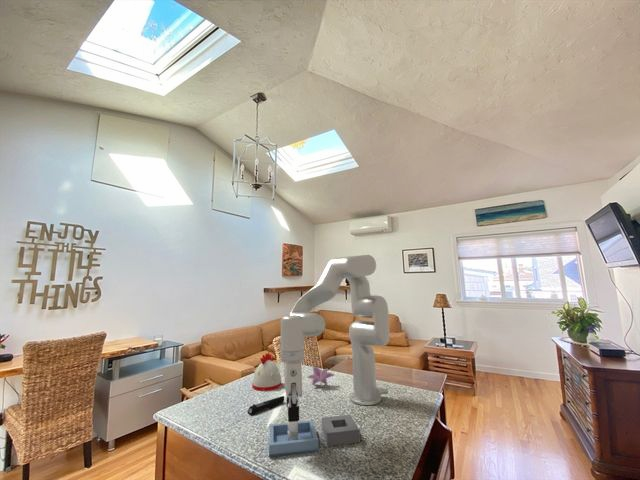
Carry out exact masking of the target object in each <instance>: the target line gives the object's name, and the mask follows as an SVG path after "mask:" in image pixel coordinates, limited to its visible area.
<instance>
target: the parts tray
mask: <svg viewBox="0 0 640 480" xmlns="http://www.w3.org/2000/svg"><path fill="white" fill-rule="evenodd" d="M306 452H307V453H308V452H309V453H315V452H319V438H318V435H317V430H316V428H315V423H314V420H313V419H312V420H311V419H310V420H302V421H300V420H299V421H298V440H292V441H288V422H283V423H282V422H281V423H273V424H272V423H271V424H269V438H268V457H269V458H274V457H275V458H276V457H283V456H292V455H298V454H299V453H301V454H307V453H306ZM299 455H300V454H299Z"/></svg>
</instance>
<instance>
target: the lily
mask: <svg viewBox="0 0 640 480" xmlns="http://www.w3.org/2000/svg"><path fill="white" fill-rule="evenodd" d="M312 371H313V374H311V375H307V378H308V379H312V382H311V384H312V385H315V384H317V383H319V382H320V383H321V384H320V389H321V391H322V390H323V387H322V386H323V385H322V383H323V384H324V385H327V384H328V381H327V380H328V378H331V377H335V374H334V373H332V372H328V371H329V368H328V367H326V368H324V369H320V368H319V367H317V366H312Z"/></svg>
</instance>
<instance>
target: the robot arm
mask: <svg viewBox="0 0 640 480" xmlns="http://www.w3.org/2000/svg"><path fill="white" fill-rule="evenodd" d="M376 268H377V262H376V260H375V258H374V257H373V255H371V254H362V255H349V256H339V257H333V258H331V259H329V261H327V263H326V264H325V266H324V269H322V272H321V274H320V276H319V278H318V280H317V282H316V283H315V285H314V286H313V287H312V288H311V289H309V290H307V292H305V293H304V294H303V295H302V296H301V297H300V298H299V299H298V300H296V302H295V304H294V305H293V308H292V309H291V310H290V313H289V314H288V315H284V316H283V317H281V319H280V362H281V363H283V364H284V366H283V368H284V370H283V371H284V374H283V375H284V387H285V394H286V395H285V396H286V408H287V423H288V422H294V421H298V422H300V405H299V397H300V398H302V397H303V371H302V362H304V360H305V337H318V336H320V335H321V334H323V332H324V331H325V329H326V320H325V318H324V317H323V316H322V315H320V313H319V314H318V313H313V312H311V311H312V310H313V309H314V308H316V307H317V306H319V305H321V304H324V303H327V302H329V301H331V300H332V299H334V298H335V296H336V295H337V293H338V291H339V288H340V286H341V284H342V282H343V280H344V279H346V280H347V282H348V283H349V286H350V303H351V304H350V305H351V312H352V315H353V316H354V317H358V318H362V319H363V318H364V319H373V321H372V320H371V321H370V320H355V321H353V322H352V323H351V324H350V325H349V329H348V334H349V335H348V336H349V339H350V345H351V353H352V376H353V377H352V381H353V392H352V393H351V394H350V396H349V398H350V401H351V402H352V403H354V404H356V405H361V406H373V405H377V404H379V403H380V402H381V400H382V396H381V395H386V394H387V395H388V394H389V390H388V388H383V387H378V386H377V374H376V373H377V372H376V355H375V354H376V353H375V351H374V349H373V347H372V346H376V347H385V346H387V345H388V344H389V341H390V337H391V335H390V334H391V331H390V329H391V328H390V317H389V316H390V315H389V314H390V313H389V306H388V302H387V301H386V298H385V297H383V296H381V295H373V294H371V287H370V282H369V280H368V278H367V276H371V275H372V274H374V273H375V271H376ZM288 404H289V406H288Z"/></svg>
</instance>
